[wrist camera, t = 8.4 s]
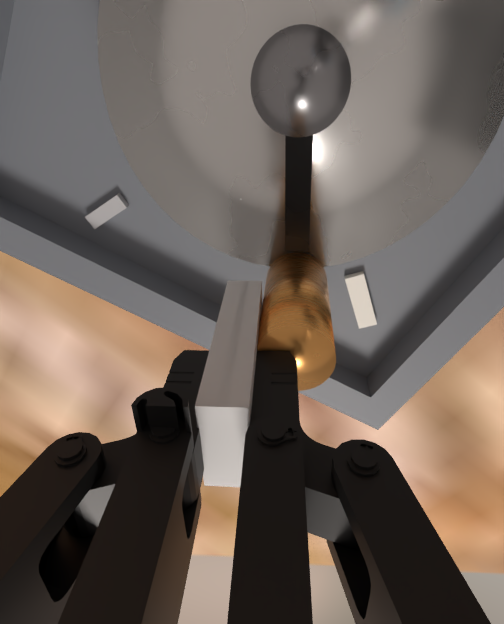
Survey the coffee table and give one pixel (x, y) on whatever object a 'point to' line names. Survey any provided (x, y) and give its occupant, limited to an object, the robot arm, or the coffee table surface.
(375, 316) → the panel
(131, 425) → the coffee table surface
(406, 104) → the dial
